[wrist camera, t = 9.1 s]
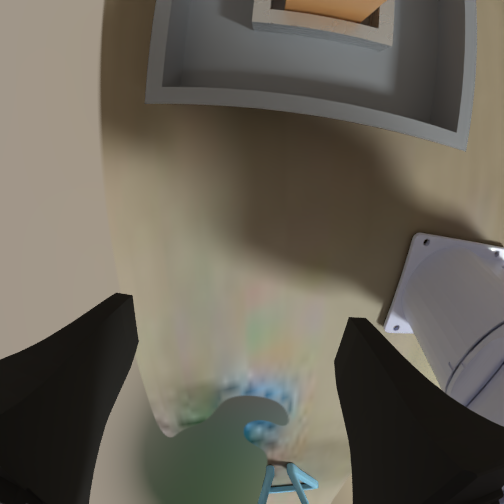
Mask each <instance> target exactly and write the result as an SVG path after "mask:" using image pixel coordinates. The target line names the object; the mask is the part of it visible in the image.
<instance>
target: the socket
mask: <svg viewBox="0 0 504 504" xmlns="http://www.w3.org/2000/svg"><path fill="white" fill-rule="evenodd" d="M394 5H395V0H387V1H385V2H384V3H383V4H382V5H381V6H379V7H378V8H377V9H376V10H375V11H374V12H372V13H371V14H370V15H369V22H368V26H366V25H362V24H358V23H354V22H349V21H345V20H340V19H335V18H330V17H325V16H319V15H313V14H306V13H300V12H292V11H284V10H274V9H271V7H272V0H254V7H253V16H252V25H253V30H254V31H261V32H272V33H281V34H290V35H297V36H304V37H311V38H317V39H323V40H328V41H334V42H339V43H344V44H348V45H353V46H357V47H362V48H366V49H370V50H374V51H378V52H381V51H383V50H385V49H388V48H390V47H392V44H393V28H394Z"/></svg>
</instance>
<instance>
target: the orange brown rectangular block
mask: <svg viewBox="0 0 504 504" xmlns="http://www.w3.org/2000/svg"><path fill="white" fill-rule="evenodd" d="M385 1H387V0H285V10H284V11H292V12H300V13H306V14H313V15H319V16H325V17H330V18H335V19H340V20H345V21H349V22H354V23H358V24H360V23H361V22H362V21H363V20H364V19H365V18H367V17H368V16H369V15H370V14H371V13H372V12H374V11H375V10H376V9H377V8H378V7H379V6H381V5H382V4H383V3H384V2H385Z"/></svg>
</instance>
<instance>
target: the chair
mask: <svg viewBox="0 0 504 504" xmlns="http://www.w3.org/2000/svg"><path fill="white" fill-rule="evenodd" d="M287 473H288V475H289V477H290V480H291V482H292V484H293V485H292V486H282V487H271V484H272V481H273V478H274V467H273V466H272V465H268V466H266V475H265V479H264V482H263V486H262V491H261V494H260V497H259V501H258V504H266V502H267V498H268V494H269V493H282V492H292V491H296V492H297V494H298V496H299V499H300V501H301V503H302V504H309V503H308V500H307V498H306V495H305V493H304V491H303V490H309V489H316V488H318V482H317V481H316V480H315V479H314V478H312V477H311V476H309V475H307V474H306V473H304V472H303V471H302V470H300V469H299V468H298V467H297V466H296V465H294V464H293V463H288V464H287ZM299 480H300V481H302V482H304V483H306V484H300V482H299Z"/></svg>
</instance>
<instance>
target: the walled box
mask: <svg viewBox="0 0 504 504" xmlns="http://www.w3.org/2000/svg"><path fill="white" fill-rule="evenodd" d="M253 7H254V0H156V5H155V12H154V18H153V25H152V33H151V41H150V49H149V59H148V69H147V80H146V93H145V104H196V105H217V106H233V107H245V108H256V109H266V110H275V111H284V112H292V113H299V114H306V115H313V116H319V117H325V118H331V119H337V120H343V121H348V122H353V123H358V124H363V125H368V126H373V127H377V128H382V129H386V130H390V131H394V132H399V133H403V134H407V135H410V136H414V137H418V138H422V139H425V140H429V141H432V142H436V143H440V144H443V145H446V146H450V147H453V148H456V149H460V150H463V151H466V148H467V142H468V136H469V129H470V122H471V115H472V107H473V98H474V87H475V74H476V54H477V12H476V0H395V5H394V28H393V44H392V47H390V48H388V49H385V50H383V51H381V52H378V51H374V50H370V49H366V48H362V47H357V46H353V45H348V44H344V43H339V42H334V41H328V40H323V39H317V38H311V37H304V36H297V35H290V34H281V33H272V32H261V31H254V30H253V25H252V16H253ZM271 9H274V10H285V0H272V7H271ZM368 22H369V16H368V17H367V18H365V19H364V20H363V21H362V22H361V23H360V24H362V25H366V26H368Z"/></svg>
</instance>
